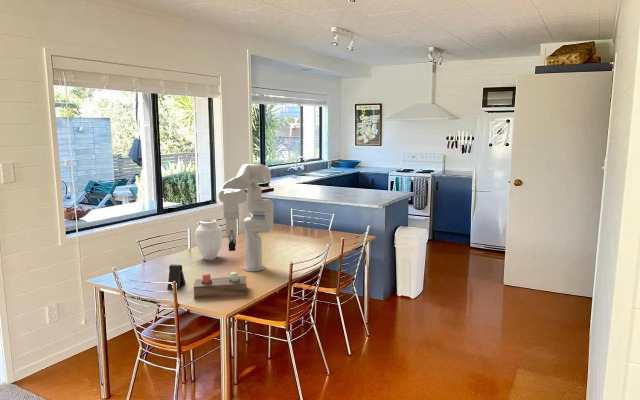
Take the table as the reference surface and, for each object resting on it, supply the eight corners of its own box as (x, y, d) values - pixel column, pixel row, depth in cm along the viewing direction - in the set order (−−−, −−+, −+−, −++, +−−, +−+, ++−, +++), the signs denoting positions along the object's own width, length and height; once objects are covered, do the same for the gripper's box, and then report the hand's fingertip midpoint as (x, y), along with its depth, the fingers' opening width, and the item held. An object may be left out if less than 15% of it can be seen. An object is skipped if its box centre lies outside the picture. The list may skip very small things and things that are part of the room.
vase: (217, 262, 292) (215, 223, 288) (190, 261, 296) (188, 223, 292) (228, 255, 309) (226, 218, 305) (203, 253, 313) (201, 217, 309)
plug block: (196, 290, 243) (195, 279, 242) (246, 286, 248) (246, 276, 247) (194, 298, 232) (193, 286, 231) (246, 294, 236) (246, 283, 235)
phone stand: (178, 289, 245) (176, 267, 243) (167, 289, 246) (166, 267, 244) (185, 284, 253) (184, 262, 251) (175, 283, 254) (174, 262, 252)
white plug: (230, 282, 242) (230, 272, 241) (238, 281, 242) (238, 271, 241) (230, 284, 238) (230, 274, 237) (238, 284, 238) (238, 274, 238)
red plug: (203, 284, 239) (202, 273, 239) (211, 283, 240) (210, 273, 239) (202, 286, 236) (202, 276, 235) (210, 286, 236) (210, 275, 235)
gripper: (224, 212, 243) (225, 244, 245) (222, 218, 226) (224, 253, 228) (239, 212, 244) (240, 244, 246) (238, 218, 227) (239, 252, 229)
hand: (232, 248), depth 237 cm, fingers open, 9 cm apart
